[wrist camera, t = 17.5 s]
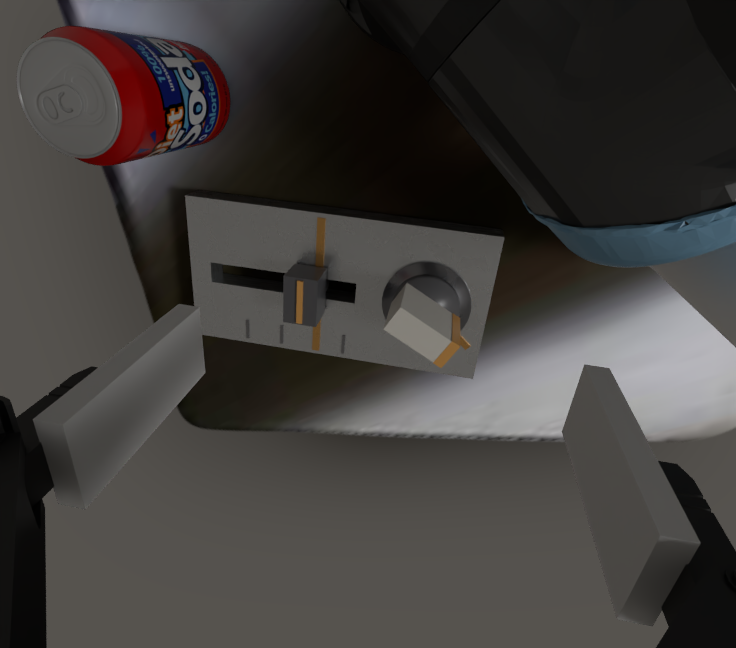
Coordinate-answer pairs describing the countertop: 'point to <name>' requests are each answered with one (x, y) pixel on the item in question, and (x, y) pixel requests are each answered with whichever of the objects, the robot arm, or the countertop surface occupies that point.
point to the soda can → (120, 94)
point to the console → (334, 274)
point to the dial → (426, 317)
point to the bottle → (707, 286)
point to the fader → (304, 294)
